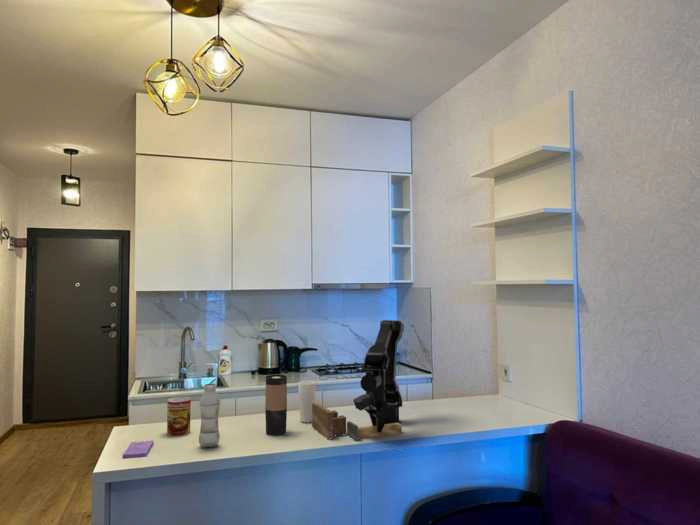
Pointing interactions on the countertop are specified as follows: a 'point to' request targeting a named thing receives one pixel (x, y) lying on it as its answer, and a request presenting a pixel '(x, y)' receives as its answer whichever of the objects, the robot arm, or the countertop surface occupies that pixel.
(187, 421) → the canned food
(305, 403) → the white cylinder
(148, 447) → the sponges
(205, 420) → the plastic bottle
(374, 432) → the hammer
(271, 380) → the travel mug
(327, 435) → the walnut box
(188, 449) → the countertop surface
